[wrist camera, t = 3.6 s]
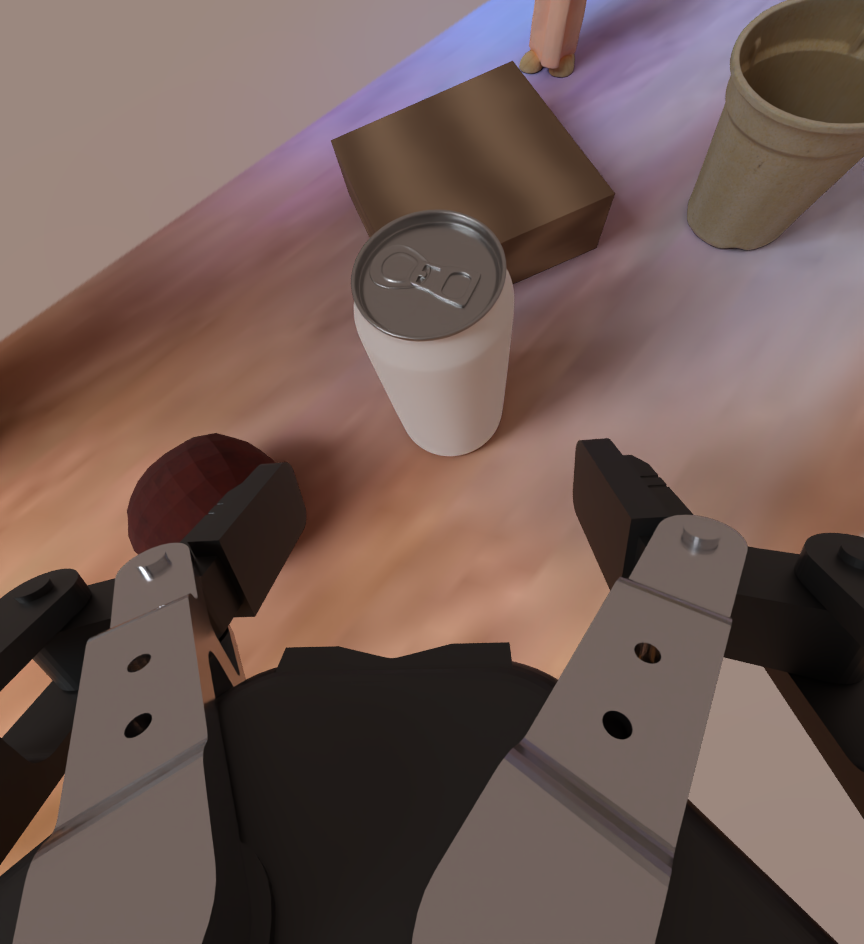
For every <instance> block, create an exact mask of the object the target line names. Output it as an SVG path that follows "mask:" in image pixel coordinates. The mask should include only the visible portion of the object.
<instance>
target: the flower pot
mask: <svg viewBox="0 0 864 944" xmlns="http://www.w3.org/2000/svg"><path fill="white" fill-rule="evenodd" d="M730 72H731V76H730V79H729V82H728V85H727V89H726V98H725V99H726V103H725V106H724V108H723V111H722V114H721V117H720V119H719V122H718V125H717V128H716V130H715V133H714V136H713V138H712V141H711V144H710V147H709V149H708V152H707V155H706V157H705V160H704V163H703V166H702V168H701V171H700V174H699V176H698V179H697V182H696V184H695V187H694V190H693V192H692V195H691V197H690V199H689V202H688V210H687V221H688V223H689V226H690V227H691V229H692V230H693V232H694V233H695V234H696V235H697V236H698V237H699V238H701V239H702V240H703V241H705V242H706V243H708V244H710V245H712V246H714V247H717V248H740V249H744V250H752V249H756V248H759V247H762V246H765V245H767V244H769V243H771V242H772V241H774V240H775V239H776V238H778V237H779V236H780V235H781V234H782V233H783V232H784V231H785V230H786V229H787V228H788V227H789V226H790V225H791V224H792V223H793V222H794V221H795V220H796V219H797V218H798V217H799V216H800V215H801V214H802V213H803V212H804V211H806V210H807V209H808V208H809V207H810V206H811V205H812V204H813V203H814V202H815V201H816V200H817V199H818V198H819V197H821V196H822V195H823V194H824V193H825V192H826V191H827V190H828V189H829V188H830V187H831V186H832V185H833V184H835V183H836V182H837V181H838V180H839V179H840V178H841V177H842V176H843V175H844V174H845V173H846V172H847V171H848V170H850V169H851V168H852V167H853V166H854V165H855V164H856V163H857V162H858V161H859V160H860V159H861V158H862V157H863V156H864V0H787V1H784V2H781V3H779V4H777V5H775V6H772V7H771V8H769V9H768V10H766V11H763V12H762V13H761V14H760V15H759V16H757V17H756V18H755V19H754V20H753V21H751V22H750V23H749V24H748V25H747V26H746V27H745V28H744V30H743V31H742V32H741V34H740V35H739V37H738V39H737V41H736V43H735V45H734V48H733V51H732V54H731V58H730Z"/></svg>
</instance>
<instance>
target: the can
mask: <svg viewBox="0 0 864 944" xmlns="http://www.w3.org/2000/svg"><path fill="white" fill-rule="evenodd" d="M351 289H352V295H353V299H354V320H355V325H356V328H357V332H358V335H359V337H360V339H361V342H362V344H363V346H364V348H365V350H366V352H367V354H368V357H369V359H370V361H371V363H372V365H373V367H374V369H375V371H376V373H377V375H378V377H379V379H380V381H381V383H382V385H383V387H384V389H385V391H386V393H387V395H388V397H389V399H390V401H391V403H392V405H393V407H394V409H395V411H396V413H397V414H398V416H399V418H400V420H401V422H402V424H403V426H404V428H405V430H406V431H407V433H408V435H409V436H410V437H411V439H412V440H413V441H414V442H415V443H416V444H417V445H418V446H420V447H421V448H423V449H424V450H426V451H428V452H431V453H433V454H437V455H441V456H458V455H463V454H467V453H470V452H472V451H474V450H476V449H478V448H479V447H481V446H482V445H484V444H485V443H486V442H487V441H488V440H489V439H490V438H491V437H492V436H493V434H494V433H495V431H496V429H497V427H498V425H499V423H500V420H501V416H502V410H503V403H504V395H505V387H506V379H507V371H508V362H509V354H510V345H511V336H512V326H513V317H514V289H513V284H512V280H511V277H510V275H509V272H508V270H507V268H506V258H505V254H504V250H503V248H502V245H501V243H500V242H499V240H498V238H497V237H496V236H495V234H494V233H493V232H492V231H491V230H490V229H489V228H488V227H487V226H486V225H484V224H483V223H482V222H480V221H479V220H477V219H475V218H473V217H471V216H469V215H466V214H463V213H460V212H456V211H450V210H425V211H419V212H414V213H411V214H407V215H405V216H402V217H400V218H397V219H395V220H393V221H391V222H390V223H388V224H386V225H385V226H383V227H382V228H381V229H379V230H378V231H377V232H376V233H375V234H373V235H372V236H371V237H370V239H369V240H368V241H367V242H366V243H365V245H364V246H363V247H362V249H361V250H360V252H359V254H358V256H357V258H356V260H355V263H354V266H353V270H352V275H351Z"/></svg>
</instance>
